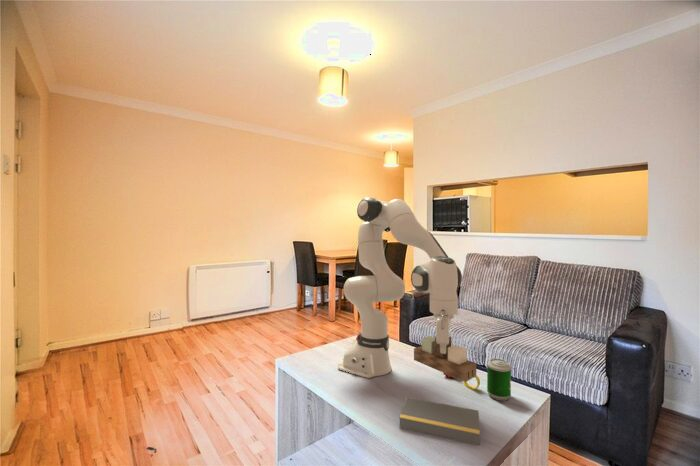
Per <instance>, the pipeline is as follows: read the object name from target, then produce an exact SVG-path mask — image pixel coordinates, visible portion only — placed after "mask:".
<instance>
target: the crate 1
mask: <svg viewBox="0 0 700 466" xmlns="http://www.w3.org/2000/svg"><path fill="white" fill-rule="evenodd" d="M421 346H422V350H423V351H425V352H428V353H430V354H433V353H435V337H433V336H430V335H429V336H426V337H423V338H421Z"/></svg>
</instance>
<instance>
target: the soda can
mask: <svg viewBox="0 0 700 466" xmlns="http://www.w3.org/2000/svg"><path fill="white" fill-rule="evenodd" d="M486 365H487V366H486V368H487V369H486V370H487V372H486V373H487V376H486V377H487V378H486V380H487V382H486V383H487V384H486V386H487V387H486V391H487V394H488V395H489V396H490V398H492V399H494V400H497V401H502V400H504V401H507V400H508V399H509V398H510V397H511V396H512V395H511V393H512V392H511V391H512V390H511V389H512V379H511V378H512V367H511V365H510V364H509V362H507V361H506V360H504V359H501V358H491V359H490V360H488V362H487V363H486Z"/></svg>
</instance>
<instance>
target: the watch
mask: <svg viewBox="0 0 700 466" xmlns="http://www.w3.org/2000/svg"><path fill="white" fill-rule="evenodd" d="M474 378H475V380H476V382H477V385H476V387H475V386H473V385H470V384H469V383H468V381H466V382H464V381H463V384H464V385H465V386H466V387H467V388H469V389H471V390H476V389H478V388H479V387H480V385H481V380H480V377H479V376H478V375H477V374H476V377H474Z"/></svg>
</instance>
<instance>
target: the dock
mask: <svg viewBox="0 0 700 466" xmlns="http://www.w3.org/2000/svg"><path fill="white" fill-rule="evenodd" d="M479 413H480V411H479V409H478V410H477V409H474V408H473V409H472V408H467V407H462V406H457V405H456V406H455V405H452V404H451V405H450V404H445V403H439V402H436V401H435V402H434V401H428V400H424V399H420V398H419V399H418V398H413V397H406V400H405V402H404V405H403V407H402V410H401V413H400V415H399V428H400V429H404V430H408V431H414V432H418V433H422V434H427V435H431V436H437V437H441V438H446V439H450V440H453V441H454V440H456V441H459V442H463V443H464V442H465V443H469V444H473V445H477V446H480V443H481V441H480V440H481V438H480V437H481V436H480V435H481V434H480V432H481V431H480V414H479Z"/></svg>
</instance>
